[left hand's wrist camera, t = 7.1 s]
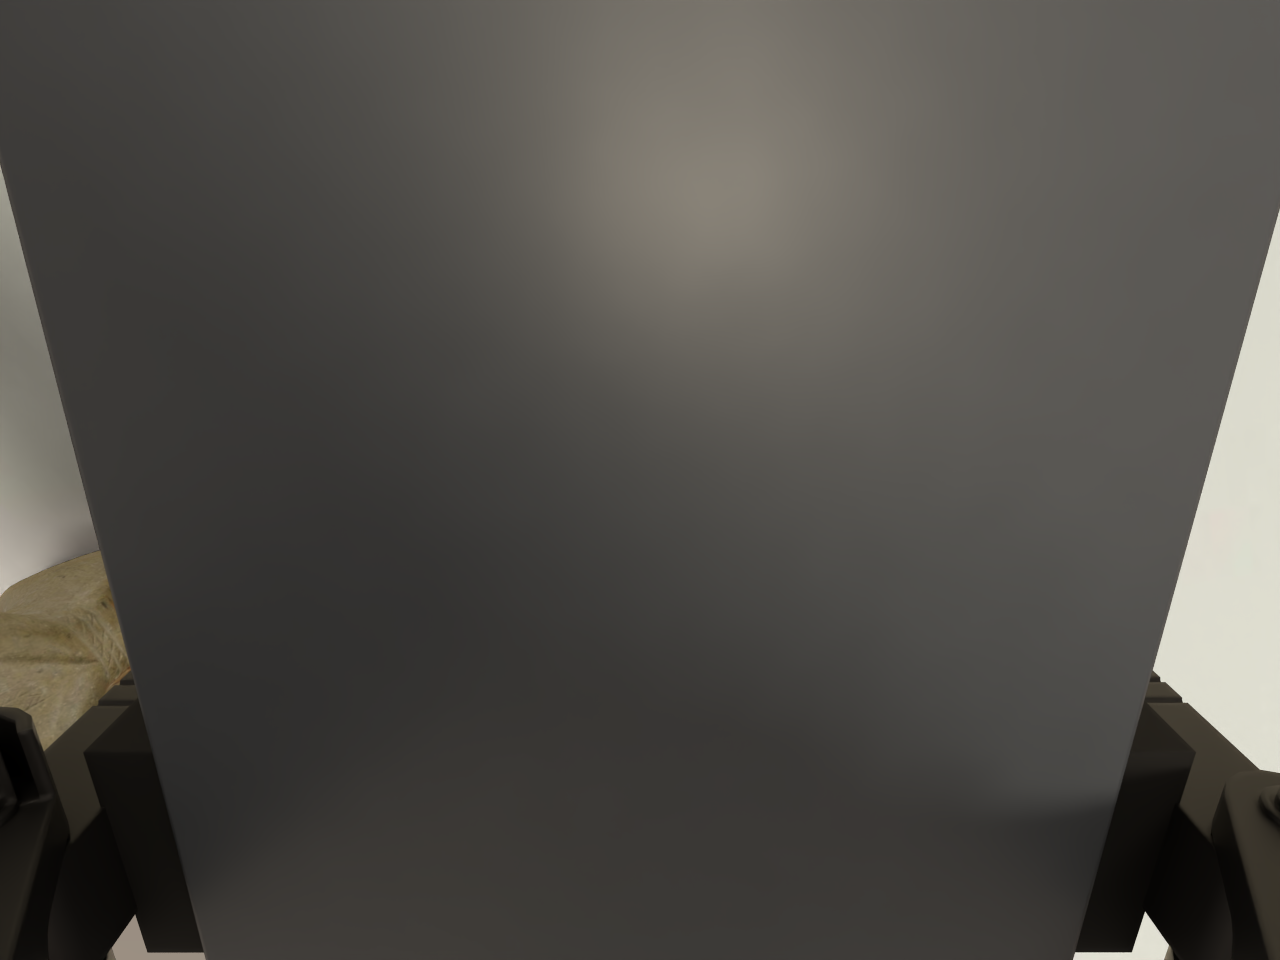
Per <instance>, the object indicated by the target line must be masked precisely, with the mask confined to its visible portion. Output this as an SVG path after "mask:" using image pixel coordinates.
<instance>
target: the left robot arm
mask: <svg viewBox="0 0 1280 960" xmlns="http://www.w3.org/2000/svg"><path fill="white" fill-rule="evenodd" d="M1145 912H1146V913H1147V914H1148V916H1149V917H1150V919H1151V920H1152V922H1153V923H1154V924H1155V926H1156V927H1157V929H1158V930H1159V931H1160V933H1161V934H1162V936H1163V937H1164V939H1165V940H1166V941H1167V943H1168V944H1169V947H1168V950H1167V953H1166V956H1165V959H1164V960H1280V773H1276V772H1270V771H1264V770H1259V769H1258V768H1257V767H1256V766H1255V765H1254V764H1253V763H1252V762H1251V761H1250V760H1249V759H1248V758H1247V757H1245V756H1244V755H1243V754H1242V753H1241V752H1240V751H1239V750H1238V749H1237V748H1236V747H1235V746H1234V745H1233V744H1231V743H1230V742H1229V741H1228V740H1227V739H1226V738H1225V737H1224V736H1223V735H1222V734H1221V733H1220V732H1218V731H1217V730H1216V729H1215V728H1214V727H1213V726H1212V725H1211V724H1210V723H1209V722H1208V721H1207V720H1206V719H1204V718H1203V717H1202V716H1201V715H1200V714H1199V713H1198V712H1197V711H1196V710H1195V709H1194V708H1193V707H1192V706H1190V705H1189V704H1188V703H1183V702H1182V697H1181V696H1180V695H1179V694H1177V693H1176V692H1175V691H1174V690H1173V689H1172V688H1171V687H1170V686H1169V685H1168V684H1167V683H1166V682H1161V681H1160V677H1159V676H1158V675H1157V674H1156V673H1155V672H1154V671H1153V670H1152V674H1151V678H1150V681H1149V685H1148V689H1147V692H1146V696H1145V699H1144V703H1143V707H1142V710H1141V714H1140V718H1139V721H1138V725H1137V728H1136V732H1135V736H1134V739H1133V743H1132V747H1131V750H1130V754H1129V758H1128V761H1127V765H1126V768H1125V772H1124V776H1123V779H1122V783H1121V787H1120V790H1119V794H1118V797H1117V801H1116V805H1115V808H1114V812H1113V816H1112V819H1111V823H1110V827H1109V830H1108V834H1107V837H1106V841H1105V845H1104V848H1103V852H1102V856H1101V859H1100V863H1099V867H1098V870H1097V874H1096V877H1095V881H1094V885H1093V888H1092V892H1091V896H1090V899H1089V903H1088V906H1087V910H1086V914H1085V917H1084V921H1083V925H1082V928H1081V932H1080V936H1079V939H1078V943H1077V946H1076V950H1075V952H1132V950H1133V947H1134V944H1135V941H1136V938H1137V934H1138V931H1139V928H1140V925H1141V922H1142V919H1143V916H1144V913H1145ZM134 915H136V918H137V921H138V924H139V927H140V930H141V934H142V937H143V940H144V943H145V946H146V949H147V952H204V950H203V947H202V943H201V939H200V935H199V931H198V927H197V923H196V920H195V916H194V912H193V908H192V904H191V900H190V896H189V892H188V889H187V885H186V881H185V877H184V873H183V869H182V865H181V861H180V858H179V854H178V850H177V846H176V842H175V838H174V834H173V831H172V827H171V823H170V819H169V815H168V811H167V807H166V803H165V800H164V796H163V792H162V788H161V784H160V780H159V776H158V772H157V769H156V765H155V761H154V757H153V753H152V749H151V745H150V741H149V738H148V734H147V730H146V726H145V722H144V718H143V714H142V711H141V707H140V703H139V699H138V695H137V691H136V687H135V683H134V680H133V676H132V672H131V671H129V672H128V673H127V674H126V675H125V676H124V677H123V678H122V679H121V680H120V685H114V686H113V687H112V688H111V689H110V690H109V691H108V692H107V693H106V694H105V695H104V696H103V697H102V698H101V699H99V700H98V705H97V706H92V707H91V708H90V709H89V710H88V711H87V712H85V713H84V714H83V715H82V716H81V717H80V718H79V719H78V720H77V721H76V722H75V723H74V724H73V725H72V726H70V727H69V728H68V729H67V730H66V731H65V732H64V733H63V734H62V735H61V736H60V737H59V738H58V739H57V740H55V741H54V742H53V743H52V744H51V745H50V746H49V747H48V748H47V749H46V750H45V751H44V750H43V748H42V745H41V742H40V739H39V736H38V733H37V730H36V727H35V724H34V722H33V719H32V716H31V715H30V714H28V713H26V712H24V711H23V710H21V709H19V708H13V707H0V960H116V959H115V956H114V953H113V950H112V946H113V945H114V943H115V942H116V941H117V939H118V938H119V936H120V935H121V933H122V932H123V931H124V929H125V928H126V926H127V925H128V924H129V922H130V921H131V919H132V918H133V916H134Z"/></svg>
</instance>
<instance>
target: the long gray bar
mask: <svg viewBox="0 0 1280 960" xmlns="http://www.w3.org/2000/svg"><path fill="white" fill-rule="evenodd" d="M0 165H1V169H2V173H3V176H4V180H5V184H6V188H7V192H8V196H9V200H10V204H11V207H12V211H13V215H14V219H15V223H16V227H17V231H18V235H19V238H20V242H21V246H22V250H23V254H24V258H25V262H26V265H27V269H28V273H29V277H30V281H31V285H32V289H33V293H34V296H35V300H36V304H37V308H38V312H39V316H40V320H41V324H42V327H43V331H44V335H45V339H46V343H47V347H48V351H49V354H50V358H51V362H52V366H53V370H54V374H55V378H56V382H57V385H58V389H59V393H60V397H61V401H62V405H63V409H64V413H65V416H66V420H67V424H68V428H69V432H70V436H71V440H72V444H73V447H74V451H75V455H76V459H77V463H78V467H79V471H80V474H81V478H82V482H83V486H84V490H85V494H86V498H87V502H88V505H89V509H90V513H91V517H92V521H93V525H94V529H95V533H96V536H97V540H98V544H99V548H100V552H101V556H102V560H103V563H104V567H105V571H106V575H107V579H108V583H109V587H110V591H111V594H112V598H113V602H114V606H115V610H116V614H117V618H118V622H119V625H120V629H121V633H122V637H123V641H124V645H125V649H126V652H127V656H128V660H129V664H130V668H131V672H132V676H133V680H134V683H135V687H136V691H137V695H138V699H139V703H140V707H141V711H142V714H143V718H144V722H145V726H146V730H147V734H148V738H149V741H150V745H151V749H152V753H153V757H154V761H155V765H156V769H157V772H158V776H159V780H160V784H161V788H162V792H163V796H164V800H165V803H166V807H167V811H168V815H169V819H170V823H171V827H172V831H173V834H174V838H175V842H176V846H177V850H178V854H179V858H180V861H181V865H182V869H183V873H184V877H185V881H186V885H187V889H188V892H189V896H190V900H191V904H192V908H193V912H194V916H195V920H196V923H197V927H198V931H199V935H200V939H201V943H202V947H203V950H204V954H205V958H206V960H1073V957H1074V954H1075V950H1076V946H1077V943H1078V939H1079V936H1080V932H1081V928H1082V925H1083V921H1084V917H1085V914H1086V910H1087V906H1088V903H1089V899H1090V896H1091V892H1092V888H1093V885H1094V881H1095V877H1096V874H1097V870H1098V867H1099V863H1100V859H1101V856H1102V852H1103V848H1104V845H1105V841H1106V837H1107V834H1108V830H1109V827H1110V823H1111V819H1112V816H1113V812H1114V808H1115V805H1116V801H1117V797H1118V794H1119V790H1120V787H1121V783H1122V779H1123V776H1124V772H1125V768H1126V765H1127V761H1128V758H1129V754H1130V750H1131V747H1132V743H1133V739H1134V736H1135V732H1136V728H1137V725H1138V721H1139V718H1140V714H1141V710H1142V707H1143V703H1144V699H1145V696H1146V692H1147V689H1148V685H1149V681H1150V678H1151V674H1152V670H1153V667H1154V663H1155V659H1156V656H1157V652H1158V649H1159V645H1160V641H1161V638H1162V634H1163V630H1164V627H1165V623H1166V620H1167V616H1168V612H1169V609H1170V605H1171V601H1172V598H1173V594H1174V590H1175V587H1176V583H1177V580H1178V576H1179V572H1180V569H1181V565H1182V561H1183V558H1184V554H1185V550H1186V547H1187V543H1188V540H1189V536H1190V532H1191V529H1192V525H1193V521H1194V518H1195V514H1196V511H1197V507H1198V503H1199V500H1200V496H1201V492H1202V489H1203V485H1204V481H1205V478H1206V474H1207V471H1208V467H1209V463H1210V460H1211V456H1212V452H1213V449H1214V445H1215V442H1216V438H1217V434H1218V431H1219V427H1220V423H1221V420H1222V416H1223V412H1224V409H1225V405H1226V402H1227V398H1228V394H1229V391H1230V387H1231V383H1232V380H1233V376H1234V373H1235V369H1236V365H1237V362H1238V358H1239V354H1240V351H1241V347H1242V343H1243V340H1244V336H1245V333H1246V329H1247V325H1248V322H1249V318H1250V314H1251V311H1252V307H1253V303H1254V300H1255V296H1256V293H1257V289H1258V285H1259V282H1260V278H1261V274H1262V271H1263V267H1264V264H1265V260H1266V256H1267V253H1268V249H1269V245H1270V242H1271V238H1272V234H1273V231H1274V227H1275V224H1276V220H1277V216H1278V213H1279V209H1280V0H0Z"/></svg>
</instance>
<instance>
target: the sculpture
mask: <svg viewBox="0 0 1280 960" xmlns="http://www.w3.org/2000/svg"><path fill="white" fill-rule="evenodd" d="M129 671H131V668H130V664H129V660H128V656H127V652H126V649H125V645H124V641H123V637H122V633H121V629H120V625H119V622H118V618H117V614H116V610H115V606H114V602H113V598H112V594H111V591H110V587H109V583H108V579H107V575H106V571H105V567H104V563H103V560H102V556H101V552H100V550H99V551H96V552H93V553H90V554H86V555H83V556H80V557H78V558H75V559H72V560H69V561H67V562H64V563H61V564H59V565H56V566H53V567H51V568H48V569H46V570H44V571H41V572H39V573H37V574H34V575H32V576H30V577H28V578H26V579H24V580H21V581H19V582H18V583H16V584H14V585H12V586H11V587H9V588H8V589H7V590H6V591H5V592H4V593H3V594H2V595H1V597H0V707H13V708H19V709H21V710H23V711H24V712H26V713H28V714H30V715H31V716H32V719H33V722H34V724H35V727H36V730H37V733H38V736H39V739H40V742H41V745H42V748H43V750H44V751H45V750H46V749H47V748H48V747H49V746H50V745H51V744H52V743H53V742H54V741H55V740H57V739H58V738H59V737H60V736H61V735H62V734H63V733H64V732H65V731H66V730H67V729H68V728H69V727H70V726H72V725H73V724H74V723H75V722H76V721H77V720H78V719H79V718H80V717H81V716H82V715H83V714H84V713H85V712H87V711H88V710H89V709H90V708H91V707H92V706H97V705H98V700H99V699H101V698H102V697H103V696H104V695H105V694H106V693H107V692H108V691H109V690H110V689H111V688H112V687H113V686H114V685H120V680H121V679H122V678H123V677H124V676H125V675H126V674H127V673H128V672H129Z"/></svg>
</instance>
